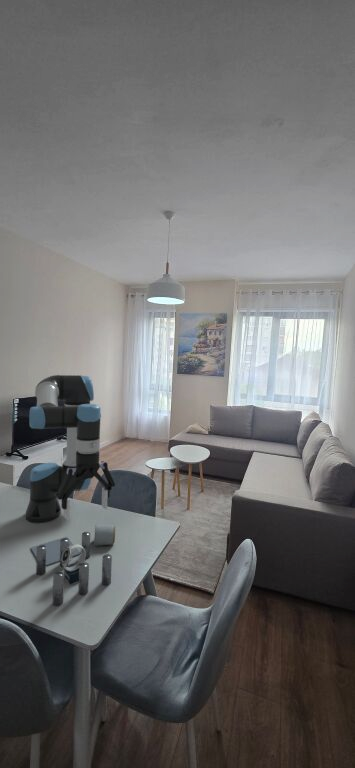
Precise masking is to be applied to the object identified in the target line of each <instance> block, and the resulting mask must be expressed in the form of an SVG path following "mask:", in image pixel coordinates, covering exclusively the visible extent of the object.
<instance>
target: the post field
mask: <svg viewBox="0 0 355 768" xmlns="http://www.w3.org/2000/svg"><path fill="white" fill-rule="evenodd" d="M63 538H64V537H63ZM69 540H70V539H69V537H68V538H64V539H61V540H60V562H59V567H61V568H64V567H63V565H62V563H61V556H62V553H63V551H64V550H65V549H66V548H68V547H69ZM39 545H40V544H39ZM81 546H82V547H83V548H84V549H85V551H86V558H85V560H88V559H90V556H91V532H90V531H84V532H82V534H81ZM82 551H83V549H81V553H80V555H81V554H82ZM35 558H36V559H35V560H36V562H35V565H36V566H35V567H36V569H35V570H36V571H35V573H36V576H40V577H41V576H44V575H45V574H46V571H47V569H46V567H47V566H46V546H45V545H40V546H38V547H37V556H36V557H35ZM85 560H84V562H83V563H81V564H80V565H79V581H78V590H77V591H78V592H77V593H78V595H79V596H83V597H84V596H87V595H88V593H89V580H90V578H89V576H90V575H89V573H90V572H89V571H90V564H89V563H88V562H86V561H85ZM112 560H113V556H112V554H110V553H108V554H104V555H103V556H102V563H101V564H102V565H101V566H102V567H101V568H102V569H101V585H102V586H105V587H106V586H109V585H111V584H112V563H113V562H112ZM68 565H70V562H69V563H68V564H67V566H68ZM64 579H65V576H64V571H56V572H54V573H53V575H52V605H53V607H60V606H62V605H63V604H64V583H65V580H64Z"/></svg>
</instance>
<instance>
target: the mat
mask: <svg viewBox="0 0 355 768" xmlns="http://www.w3.org/2000/svg"><path fill="white" fill-rule="evenodd" d="M64 538H68V539H69V537H68V536H64V537H61V538H58V539H54V540H51V541H48V542H44V543H41V544H37V545H34V546H32V547H30V550H31V552H32V553H33V555H34V556H35V558H36V556H37V547H38V546H40V545H45V546H46V567H49V566H52V565H54V564H57V563H60V540H61V539H64ZM72 545H74V544H73V542H72V541H71V540H70V539H69V546H72ZM77 556H81V553H80V551H79V550H78V548H77V549H75V551H74V553H73V556H72V558H75V557H77Z"/></svg>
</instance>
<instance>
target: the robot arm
mask: <svg viewBox="0 0 355 768" xmlns="http://www.w3.org/2000/svg"><path fill="white" fill-rule="evenodd" d="M34 392H35V393H34V394H35V397H36V406H31V407H30V409H29V427H30V428H31V429H36V430H37V429H38V430H44V429H66V458H65V460H63V462H62V465H61V466H59V464H58V463H57V462H45V463H41V464H39V465H37V466H34V467H33V468H32V469H31V471H30V474H29V475H30V477H29V481H30V483H29V485H30V487H29V502H28V505H27V507H26V510H25V520H26V521H27V522H30V523H34V524H43V523H44V524H45V523H49V522H52V521H55V520H56V519H58V518H59V517H60V516H61V514H62V510H61V509H63V518H65V519H66V520H70V513H71V512H70V510H71V509H70V508H71V505H70V503H71V499H70V496H71V495H72V494H73V492H80V491H85V490H88V489H89V487H90V486H91V482H92V479H93V478H95V479H96V480H97V481H98V482H99V484H101V485H102V486H103V487H102V488H101V507H102V508H103V509H105V510H106V509H108V499H109V498H110V493H111V491H112V488H114V487H115V486H116V483H115V481H114V479H113V476H112V474H111V472H110V471H109V466H108V465H109V464H108V463H107V462H106V461H104V460H102V461H101V462H100V451H99V450H100V449H101V448H100V444H101V441H100V440H101V439H100V438H101V436H100V435H101V418H102V414H101V411H102V410H101V406H100V405H99V404H96V403H95V404H94V403H91V402H92V401H94V399H95V398H94V396H95V394H94V385H93V380H92V378H91V377H90V376H88V375H79V374H78V375H65V374H64V375H62V374H57V375H56V374H55V375H50V376H48V377H45V378H43V379H42V380H40V381H39V382H38V384H37V385H36V386H35V390H34ZM58 401H60V402H61V401H63V405H64V406H61V405H60V406H59V404H58V403H59V402H58ZM100 469H101V471H102V472H103V475H104V477H105V479H106V480H105V479H104V478H103V477H102V476H101V474H100V473H99V472H98V471H99V470H100ZM59 500H60V501H61V504H60V502H59Z"/></svg>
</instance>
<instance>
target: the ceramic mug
mask: <svg viewBox="0 0 355 768" xmlns="http://www.w3.org/2000/svg"><path fill="white" fill-rule="evenodd" d="M94 527H95V528H94V538H93V539H94V540H93V546H94V547H96V546H110V545H114V543H115V541H116V526H115V525H113V524H95V526H94Z"/></svg>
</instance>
